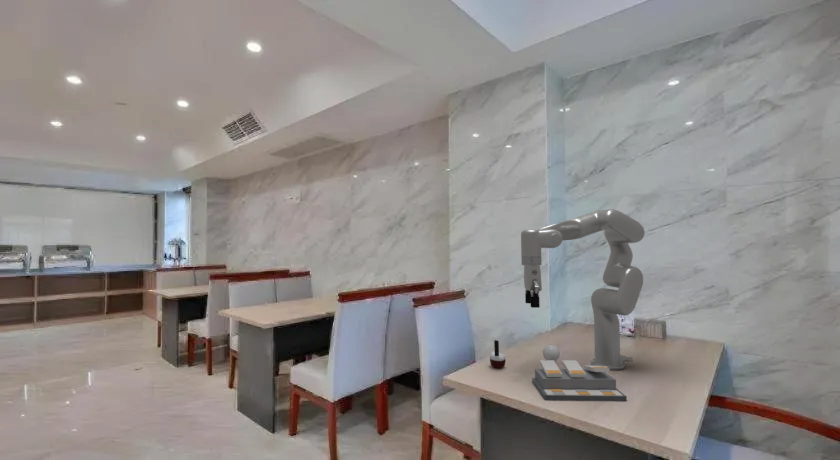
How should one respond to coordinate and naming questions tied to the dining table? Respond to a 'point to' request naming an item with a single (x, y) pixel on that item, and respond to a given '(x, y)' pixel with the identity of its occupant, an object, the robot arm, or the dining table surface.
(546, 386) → the switch unit
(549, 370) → the switch
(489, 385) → the dining table surface
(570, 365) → the switch
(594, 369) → the switch
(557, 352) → the lightbulb
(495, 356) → the cocoa
